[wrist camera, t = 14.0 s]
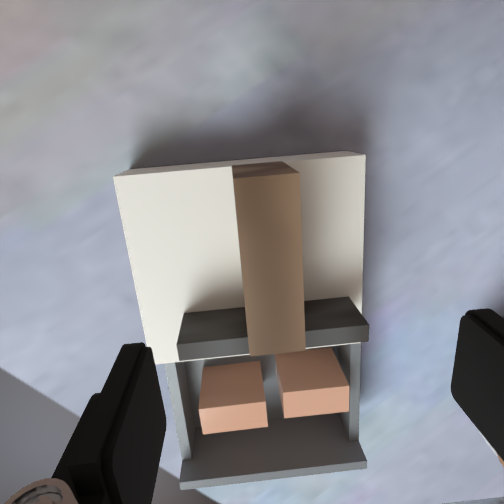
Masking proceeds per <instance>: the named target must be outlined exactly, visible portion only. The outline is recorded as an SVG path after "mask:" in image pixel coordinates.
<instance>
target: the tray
mask: <svg viewBox="0 0 504 504" xmlns="http://www.w3.org/2000/svg"><path fill="white" fill-rule="evenodd" d="M330 347H331V348H332V350H333V352H334V354H335V356H336V358H337V360H338V363H339V365H340V367H341V369H342V371H343V373H344V375H345V377H346V380H347V382H348V384H349V411H348V412H339V413H330V414H320V415H311V416H302V417H292V418H284V415H283V409H282V404H281V399H280V394H279V389H278V384H277V379H276V368H275V354H269V355H260V356H250V355H241V356H232V357H222V358H213V359H203V360H194V361H184V362H174V363H165V364H164V365H165V370H166V376H167V381H168V387H169V392H170V397H171V403H172V408H173V413H174V419H175V424H176V429H177V435H178V440H179V446H180V451H181V456H182V467H181V474H180V482H179V483H180V488H181V490H185V489H194V488H202V487H211V486H220V485H228V484H237V483H245V482H254V481H263V480H271V479H280V478H288V477H297V476H305V475H314V474H323V473H331V472H340V471H348V470H357V469H366V468H367V460H366V457H365V455H364V453H363V450H362V448H361V445H360V443H359V401H360V361H361V343H357V344H347V345H337V346H328V347H318V348H309V349H306V350H310V349H320V348H330ZM253 361H260V364H261V372H262V379H263V386H264V393H265V400H266V410H267V421H268V427H261V428H253V429H245V430H236V431H228V432H220V433H211V434H203V432H202V426H201V420H200V415H199V401H200V391H201V381H202V371H203V367H210V366H219V365H227V364H236V363H245V362H253Z"/></svg>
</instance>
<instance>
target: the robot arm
mask: <svg viewBox="0 0 504 504" xmlns="http://www.w3.org/2000/svg"><path fill="white" fill-rule="evenodd" d="M451 392H452V395H453V398H454V399H455V401H456V402H457V403H458V405H459V406H460V407H461V408H462V410H463V411H464V412H465V413H466V415H467V416H468V417H469V418H470V420H471V421H472V422H473V423H474V425H475V426H476V427H477V428H478V430H479V431H480V432H481V433H482V435H483V436H484V437H485V438H486V440H487V441H488V442H489V444H490V445H491V446H492V447H493V449H494V450H495V451H496V452H497V454H498V455H499V456H500V457H501V459H502V460H503V461H504V318H502V317H501V316H500V315H498V314H497V313H496V312H494V311H493V310H491V309H477V310H469V311H467V312H466V314H465V316H462V318H461V320H460V326H459V333H458V340H457V347H456V354H455V361H454V368H453V375H452V382H451ZM165 432H166V415H165V410H164V405H163V400H162V396H161V391H160V386H159V381H158V376H157V371H156V366H155V361H154V357H153V352H152V348H151V347H145V344H144V343H143V342H142V343H132V344H124V345H123V346H122V348H121V350H120V352H119V354H118V356H117V359H116V361H115V363H114V365H113V367H112V369H111V372H110V374H109V376H108V378H107V380H106V382H105V385H104V387H103V389H102V391H101V393H95V394H94V395H92V397H91V398H90V400H89V402H88V404H87V406H86V408H85V410H84V412H83V414H82V416H81V418H80V421H79V422H78V425H77V427H76V429H75V431H74V433H73V435H72V437H71V439H70V441H69V443H68V445H67V447H66V449H65V451H64V453H63V455H62V458H61V459H60V461H59V463H58V465H57V467H56V470H55V472H54V474H53V476H52V478H48V479H47V478H46V479H43V480H39V481H36V482H33V483H31V484H30V485H27V486H26V487H24V488H22V489H21V490H19V491H18V492H17V493H15V494H14V495H13V496H11V497H10V498H9V499H8V500H7V501H6V503H4V504H151V502H152V497H153V492H154V487H155V482H156V477H157V472H158V467H159V462H160V457H161V452H162V447H163V442H164V437H165ZM444 504H504V497H499V498H490V499H480V500H471V501H462V502H453V503H444Z"/></svg>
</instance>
